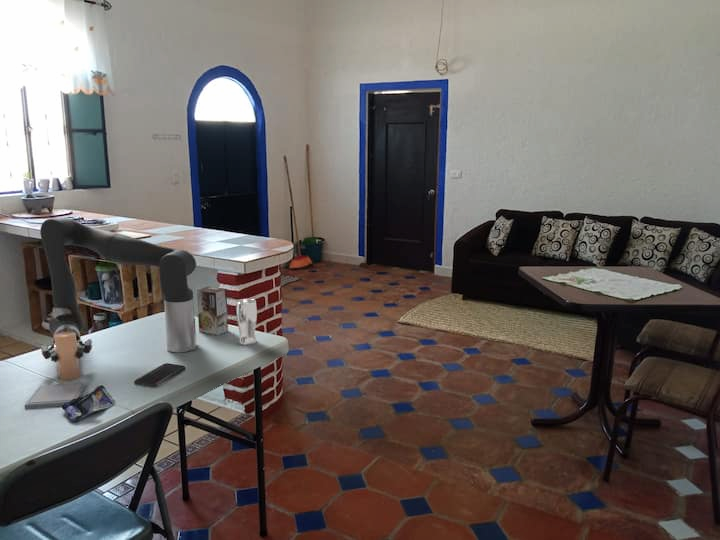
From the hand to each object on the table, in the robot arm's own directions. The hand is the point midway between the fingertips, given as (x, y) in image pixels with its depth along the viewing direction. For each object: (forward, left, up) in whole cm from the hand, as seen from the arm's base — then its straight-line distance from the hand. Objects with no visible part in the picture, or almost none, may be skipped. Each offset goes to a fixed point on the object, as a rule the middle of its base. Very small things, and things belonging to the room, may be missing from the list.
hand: (67, 357), depth 158 cm
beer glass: (-51, -23, -7) cm, 57 cm away
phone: (-25, +2, -8) cm, 26 cm away
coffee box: (-39, -37, -7) cm, 55 cm away
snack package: (-10, +22, -8) cm, 25 cm away
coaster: (0, +11, -7) cm, 13 cm away
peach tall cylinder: (+1, -2, -7) cm, 7 cm away
